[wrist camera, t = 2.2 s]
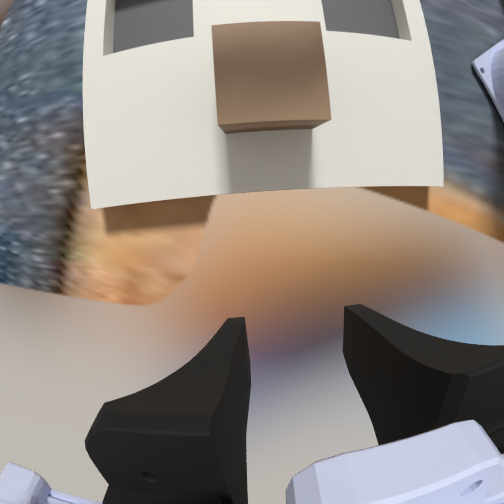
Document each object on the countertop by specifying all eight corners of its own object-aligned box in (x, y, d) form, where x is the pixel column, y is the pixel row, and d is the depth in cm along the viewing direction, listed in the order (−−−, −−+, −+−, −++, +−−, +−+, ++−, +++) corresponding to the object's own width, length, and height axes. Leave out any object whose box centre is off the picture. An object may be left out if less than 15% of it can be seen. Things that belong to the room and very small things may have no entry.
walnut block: (312, 129, 17) (331, 119, 13) (225, 133, 17) (217, 125, 13) (304, 50, 16) (320, 21, 12) (219, 54, 16) (211, 25, 12)
